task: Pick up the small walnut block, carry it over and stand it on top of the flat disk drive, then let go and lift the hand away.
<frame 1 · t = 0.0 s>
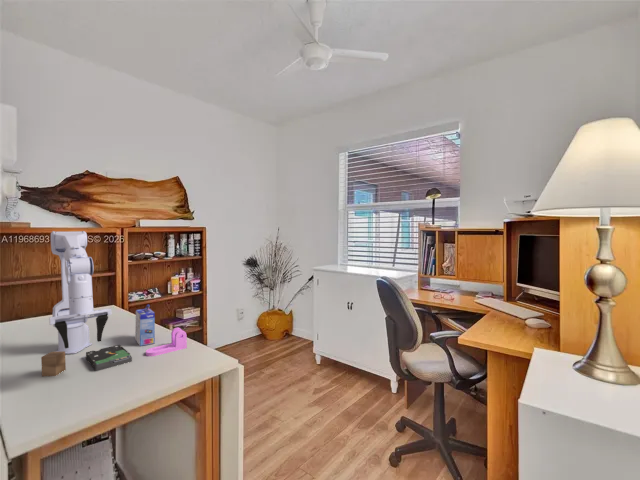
hand: (83, 344, 92), 11 cm above the table, tool pointing down, fingers open, 7 cm apart
walnut block: (54, 373, 97), on the table
disk drive: (108, 361, 106), on the table
ink cartridge box: (145, 342, 124), on the table
bracket: (165, 351, 114), on the table
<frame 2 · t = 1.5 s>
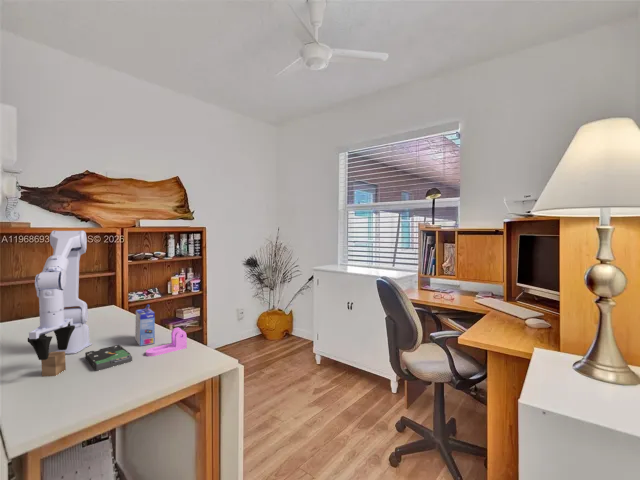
hand: (53, 354, 96), 6 cm above the table, tool pointing down, fingers open, 7 cm apart
nothing on the table moved.
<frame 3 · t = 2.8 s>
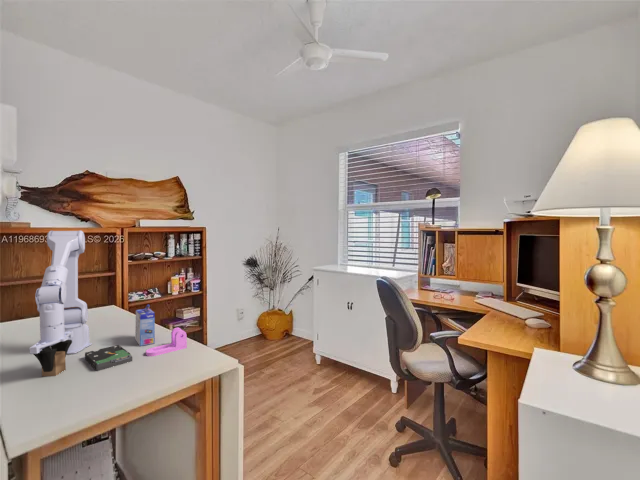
hand: (53, 367, 97), 2 cm above the table, tool pointing down, fingers closed on walnut block, 4 cm apart
walnut block: (54, 373, 97), on the table, touching gripper
everything else where it was.
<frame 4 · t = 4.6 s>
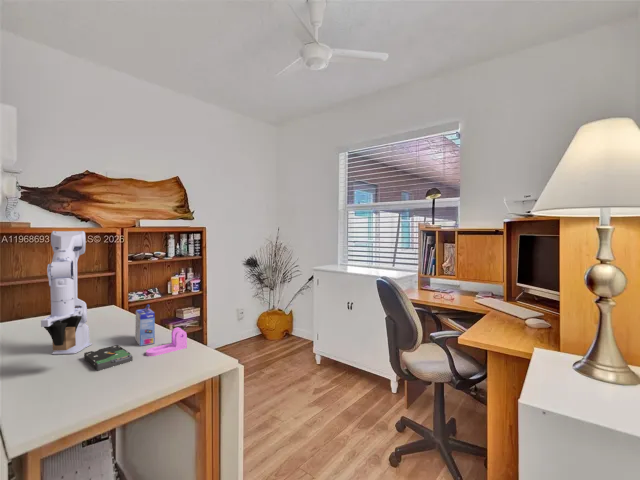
hand: (64, 342, 98), 9 cm above the table, tool pointing down, fingers closed on walnut block, 4 cm apart
walnut block: (64, 347, 98), point 7 cm above the table, touching gripper
everything else where it was.
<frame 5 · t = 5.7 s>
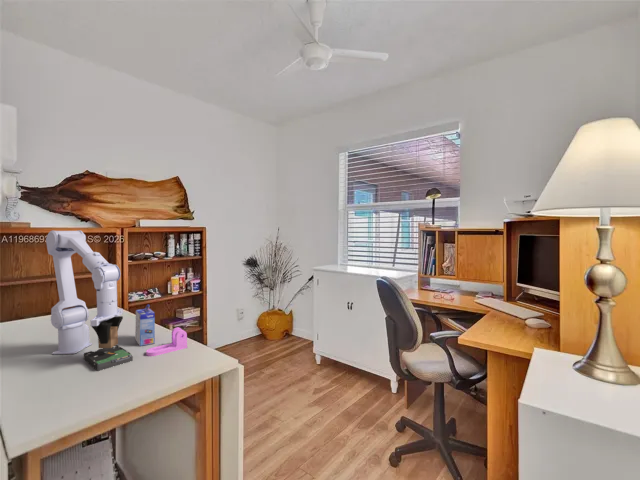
hand: (108, 340, 106), 7 cm above the table, tool pointing down, fingers closed on walnut block, 4 cm apart
walnut block: (108, 345, 106), point 5 cm above the table, touching gripper
everything else where it was.
when the fingers open (6 cm above the table, at t = 6.6 s): walnut block drops 2 cm, resting on disk drive.
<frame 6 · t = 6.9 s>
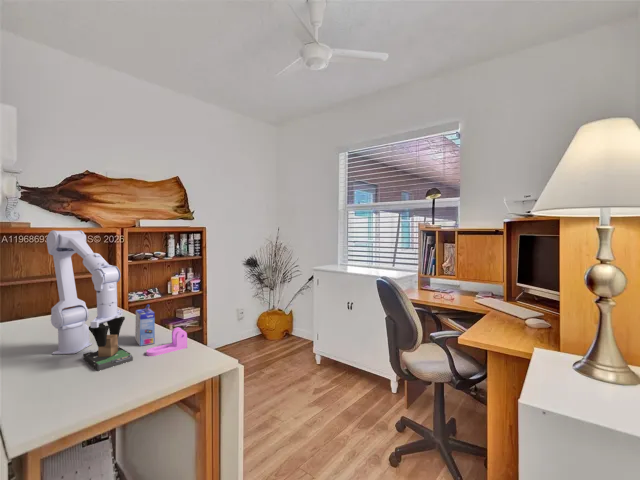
hand: (108, 342, 106), 6 cm above the table, tool pointing down, fingers open, 7 cm apart
walnut block: (108, 354, 106), point 2 cm above the table, touching disk drive
disk drive: (108, 362, 106), on the table, touching walnut block
everything else where it was.
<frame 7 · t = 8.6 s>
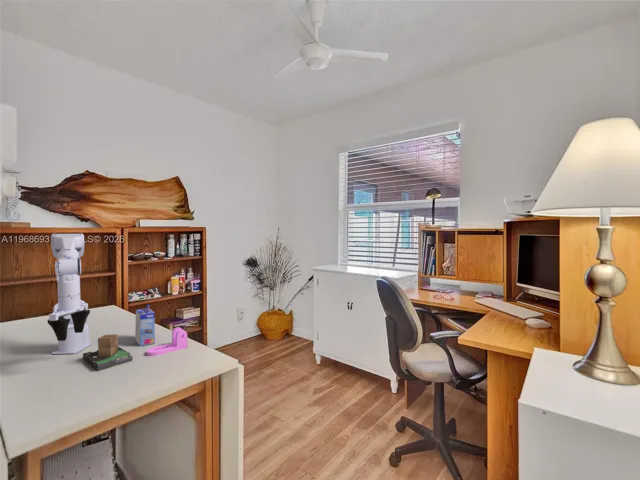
hand: (70, 336, 102), 9 cm above the table, tool pointing down, fingers open, 7 cm apart
walnut block: (108, 353, 106), point 2 cm above the table
disk drive: (107, 362, 106), on the table
everything else where it was.
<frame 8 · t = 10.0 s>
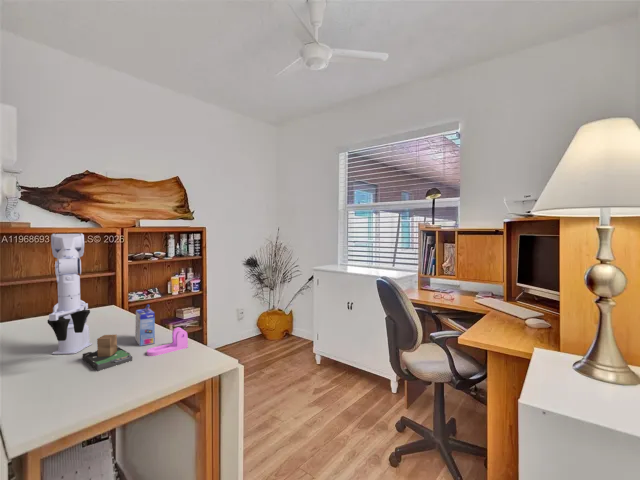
hand: (70, 336, 102), 9 cm above the table, tool pointing down, fingers open, 7 cm apart
walnut block: (107, 354, 106), point 2 cm above the table, touching disk drive
disk drive: (107, 362, 106), on the table, touching walnut block
everything else where it was.
at the end: walnut block inside the target area on the disk drive (0.1 cm from its centre), point 2.9 cm above the disk drive's base; walnut block tilted 0°; the gripper is holding nothing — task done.
